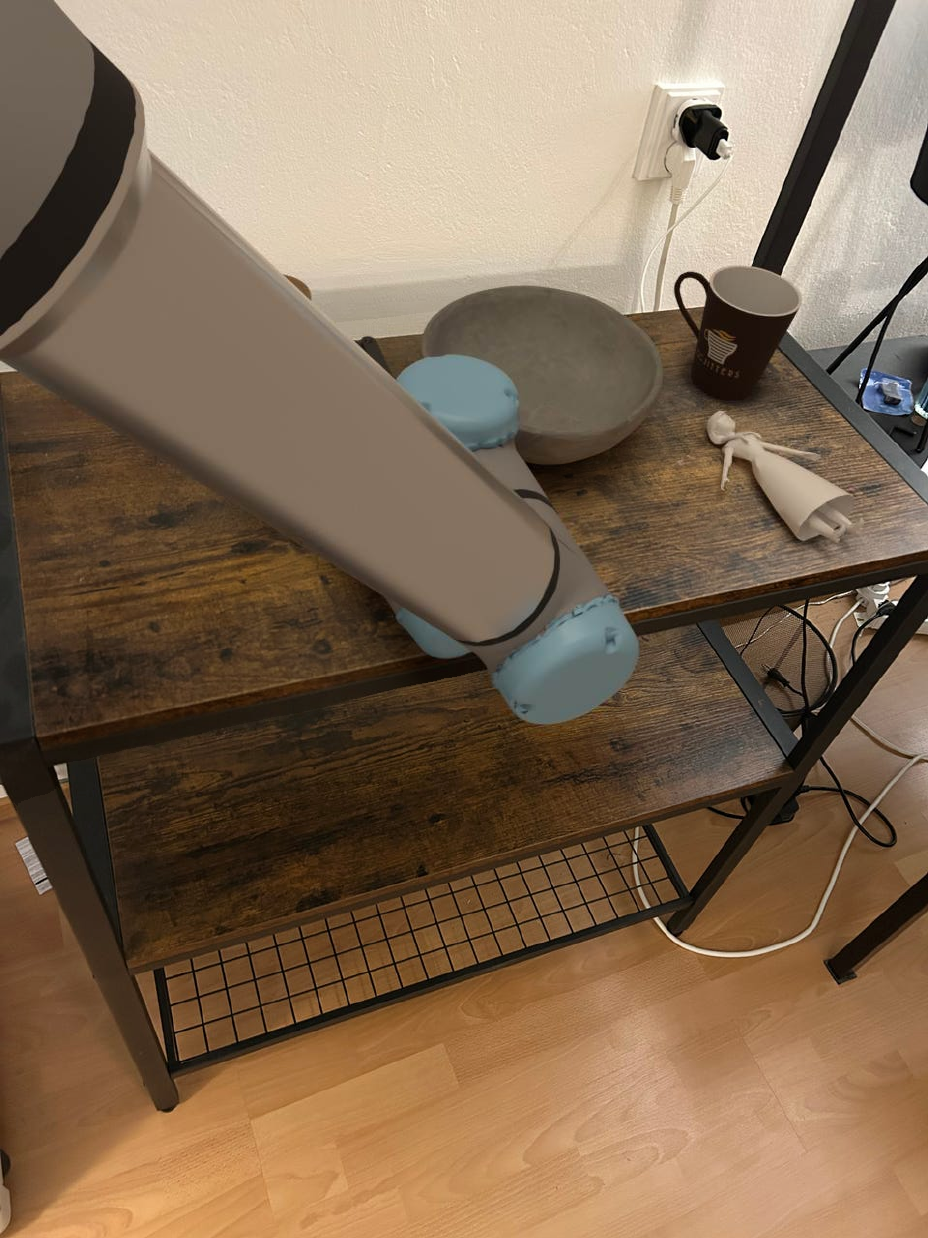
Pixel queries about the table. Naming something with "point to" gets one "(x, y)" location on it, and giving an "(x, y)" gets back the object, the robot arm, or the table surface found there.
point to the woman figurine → (787, 483)
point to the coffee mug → (738, 327)
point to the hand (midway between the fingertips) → (252, 320)
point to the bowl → (556, 365)
